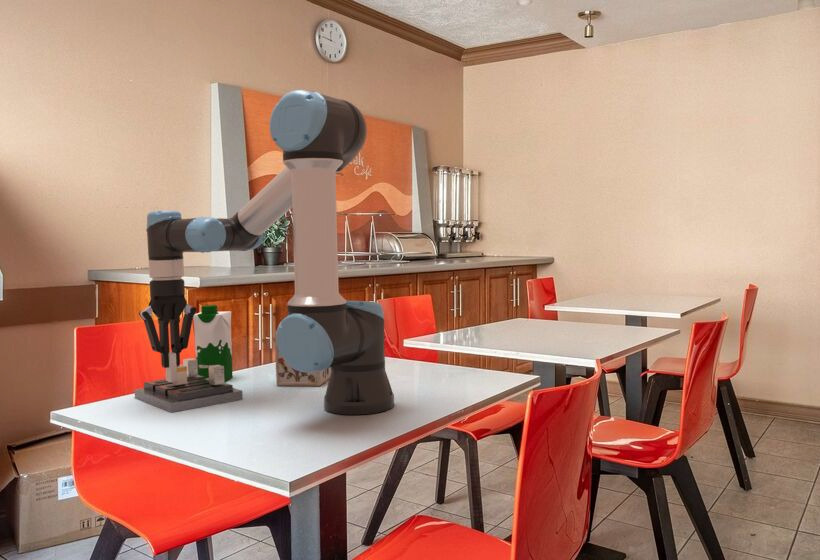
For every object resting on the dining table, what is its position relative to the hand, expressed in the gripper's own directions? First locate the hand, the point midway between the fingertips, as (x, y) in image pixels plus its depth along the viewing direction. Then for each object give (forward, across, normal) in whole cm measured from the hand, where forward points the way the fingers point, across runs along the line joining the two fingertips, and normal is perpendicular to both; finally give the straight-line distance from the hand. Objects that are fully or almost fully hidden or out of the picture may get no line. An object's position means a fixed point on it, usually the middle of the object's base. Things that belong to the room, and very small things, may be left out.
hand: (171, 380), depth 160 cm
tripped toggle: (+1, -2, 0) cm, 2 cm away
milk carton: (+5, -18, -16) cm, 25 cm away
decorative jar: (+5, -33, +5) cm, 34 cm away
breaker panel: (+5, -4, 0) cm, 6 cm away
